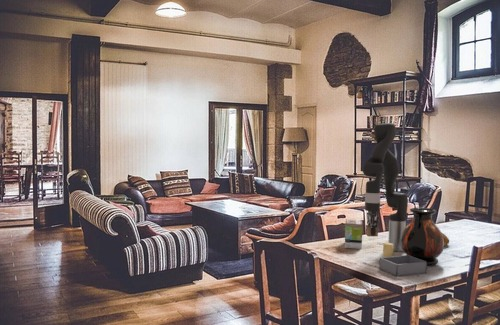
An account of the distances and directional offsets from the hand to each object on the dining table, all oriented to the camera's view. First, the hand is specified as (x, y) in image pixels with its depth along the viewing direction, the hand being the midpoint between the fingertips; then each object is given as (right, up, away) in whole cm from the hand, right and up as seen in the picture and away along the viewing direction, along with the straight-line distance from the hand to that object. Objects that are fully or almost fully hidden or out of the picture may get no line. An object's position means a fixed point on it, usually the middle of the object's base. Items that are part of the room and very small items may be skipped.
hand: (371, 234), depth 241 cm
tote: (+12, -16, -13) cm, 24 cm away
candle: (+9, -15, +2) cm, 18 cm away
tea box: (-1, -13, +39) cm, 42 cm away
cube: (0, -1, 0) cm, 1 cm away
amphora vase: (+27, -16, +4) cm, 31 cm away
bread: (+43, -13, +51) cm, 68 cm away
